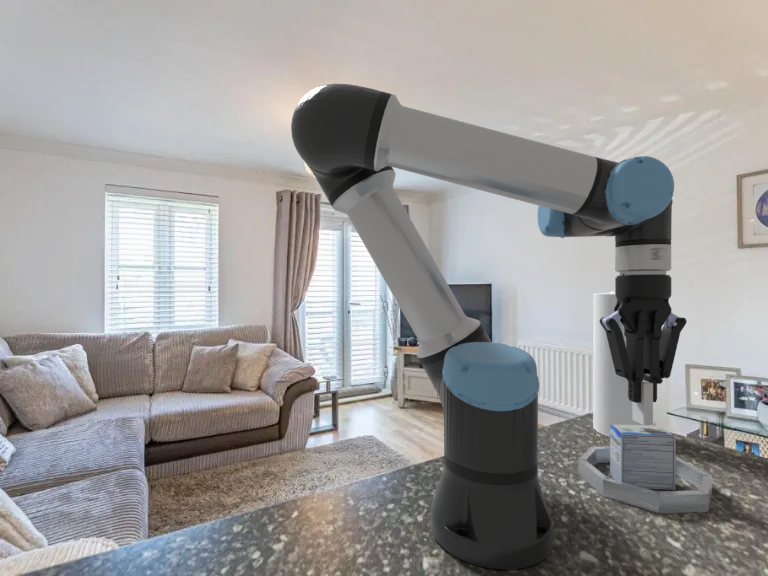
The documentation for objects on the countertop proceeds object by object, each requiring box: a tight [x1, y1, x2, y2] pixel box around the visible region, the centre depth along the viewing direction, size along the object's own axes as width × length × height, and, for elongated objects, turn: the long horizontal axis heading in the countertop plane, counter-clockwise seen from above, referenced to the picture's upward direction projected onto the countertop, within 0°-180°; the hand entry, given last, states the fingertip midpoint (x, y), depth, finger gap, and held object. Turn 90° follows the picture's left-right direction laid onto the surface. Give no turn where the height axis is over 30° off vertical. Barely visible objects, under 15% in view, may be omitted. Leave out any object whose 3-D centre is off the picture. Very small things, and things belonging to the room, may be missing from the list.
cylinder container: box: [592, 290, 644, 438], centre depth 88 cm, size 9×9×30 cm
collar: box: [577, 445, 713, 514], centre depth 66 cm, size 17×17×2 cm
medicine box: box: [609, 424, 677, 491], centre depth 66 cm, size 8×4×9 cm, turn 83°
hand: (642, 422), depth 66 cm, fingers closed
